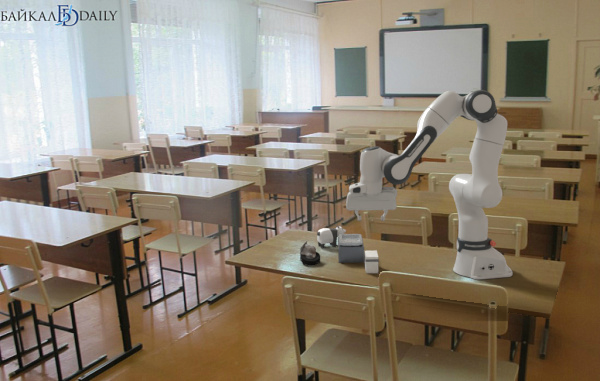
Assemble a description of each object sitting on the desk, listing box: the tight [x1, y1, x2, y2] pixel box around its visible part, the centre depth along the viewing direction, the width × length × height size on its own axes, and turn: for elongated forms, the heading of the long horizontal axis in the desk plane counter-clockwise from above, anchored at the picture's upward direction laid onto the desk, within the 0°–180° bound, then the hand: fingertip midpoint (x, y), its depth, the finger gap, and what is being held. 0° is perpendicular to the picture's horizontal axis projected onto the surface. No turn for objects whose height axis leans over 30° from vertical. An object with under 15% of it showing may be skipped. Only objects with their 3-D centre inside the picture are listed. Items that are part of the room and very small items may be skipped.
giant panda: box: [316, 224, 347, 249], centre depth 255 cm, size 15×6×10 cm, turn 110°
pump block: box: [364, 250, 380, 274], centre depth 223 cm, size 5×8×7 cm, turn 177°
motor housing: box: [337, 233, 365, 264], centre depth 238 cm, size 11×15×9 cm
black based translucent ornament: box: [299, 241, 321, 267], centre depth 235 cm, size 7×11×10 cm
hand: (371, 220), depth 219 cm, fingers open, 8 cm apart
